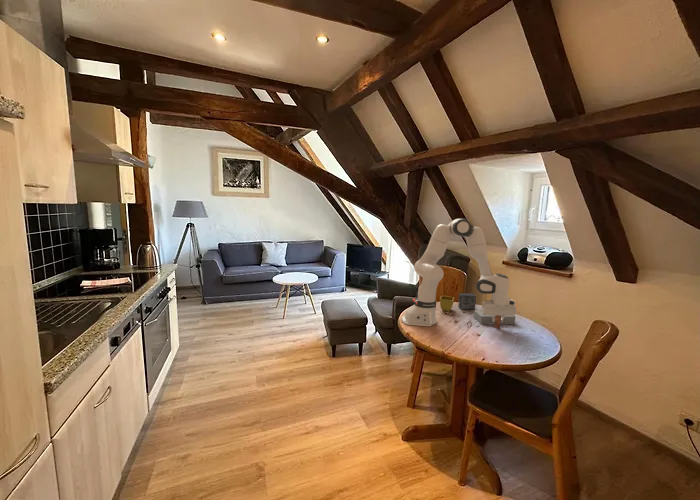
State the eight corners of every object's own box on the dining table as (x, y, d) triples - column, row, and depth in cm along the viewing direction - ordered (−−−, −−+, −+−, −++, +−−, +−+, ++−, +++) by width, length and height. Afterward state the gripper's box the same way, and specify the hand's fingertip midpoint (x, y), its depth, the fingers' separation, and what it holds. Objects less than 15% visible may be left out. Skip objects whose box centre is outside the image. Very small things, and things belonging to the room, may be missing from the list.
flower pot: (453, 309, 226) (454, 297, 224) (451, 313, 218) (452, 300, 217) (441, 307, 230) (441, 295, 228) (439, 311, 222) (439, 298, 220)
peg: (495, 328, 193) (497, 312, 191) (493, 326, 196) (494, 311, 194) (500, 328, 193) (502, 312, 191) (498, 326, 196) (499, 311, 194)
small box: (472, 307, 231) (473, 293, 229) (475, 310, 224) (476, 296, 223) (458, 306, 232) (458, 292, 230) (460, 309, 225) (461, 295, 224)
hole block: (480, 323, 200) (481, 316, 199) (473, 317, 211) (474, 310, 210) (514, 324, 200) (515, 316, 199) (506, 317, 211) (506, 310, 210)
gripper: (484, 301, 188) (483, 323, 191) (518, 302, 189) (516, 323, 191) (480, 298, 195) (478, 319, 197) (513, 298, 195) (511, 319, 197)
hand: (497, 321), depth 194 cm, fingers closed on peg, 3 cm apart
